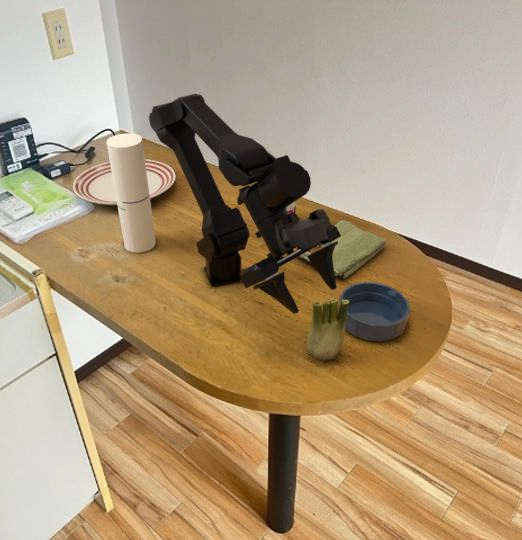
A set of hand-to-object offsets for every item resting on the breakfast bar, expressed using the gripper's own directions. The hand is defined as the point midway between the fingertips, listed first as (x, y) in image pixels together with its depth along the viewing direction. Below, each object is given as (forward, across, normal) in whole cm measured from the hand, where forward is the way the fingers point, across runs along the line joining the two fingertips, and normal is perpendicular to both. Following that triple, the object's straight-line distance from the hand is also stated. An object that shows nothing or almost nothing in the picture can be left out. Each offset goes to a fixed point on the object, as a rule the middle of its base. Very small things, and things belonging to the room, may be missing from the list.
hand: (315, 300), depth 85 cm
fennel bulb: (+10, 0, +5) cm, 11 cm away
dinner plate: (-44, +7, +59) cm, 74 cm away
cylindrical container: (-26, -5, +41) cm, 49 cm away
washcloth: (-3, +26, +18) cm, 31 cm away
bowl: (+9, +13, +5) cm, 17 cm away
